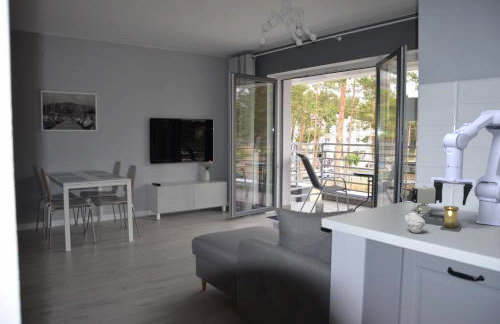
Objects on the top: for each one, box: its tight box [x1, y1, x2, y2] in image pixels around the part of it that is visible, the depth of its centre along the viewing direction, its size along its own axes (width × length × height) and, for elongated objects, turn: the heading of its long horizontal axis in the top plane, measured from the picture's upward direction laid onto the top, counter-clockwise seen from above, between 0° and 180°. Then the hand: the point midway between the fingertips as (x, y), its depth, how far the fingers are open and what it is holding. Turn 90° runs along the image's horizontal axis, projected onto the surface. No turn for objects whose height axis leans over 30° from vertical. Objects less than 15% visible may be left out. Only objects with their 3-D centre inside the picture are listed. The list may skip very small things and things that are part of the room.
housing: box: [420, 211, 444, 227], centre depth 155 cm, size 14×10×2 cm
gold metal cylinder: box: [443, 205, 460, 229], centre depth 143 cm, size 5×5×8 cm
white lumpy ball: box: [404, 212, 426, 234], centre depth 137 cm, size 6×7×7 cm
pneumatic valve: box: [408, 185, 439, 215], centre depth 171 cm, size 6×12×12 cm, turn 89°
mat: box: [439, 225, 462, 233], centre depth 143 cm, size 6×6×1 cm
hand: (452, 203), depth 142 cm, fingers open, 7 cm apart
